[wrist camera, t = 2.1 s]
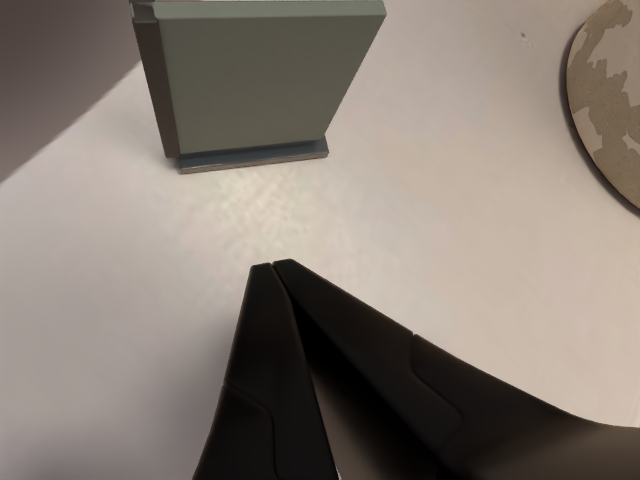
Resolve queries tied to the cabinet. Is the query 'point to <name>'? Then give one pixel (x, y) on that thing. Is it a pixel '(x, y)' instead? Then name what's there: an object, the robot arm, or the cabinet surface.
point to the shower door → (250, 67)
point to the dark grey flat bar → (252, 155)
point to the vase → (609, 92)
